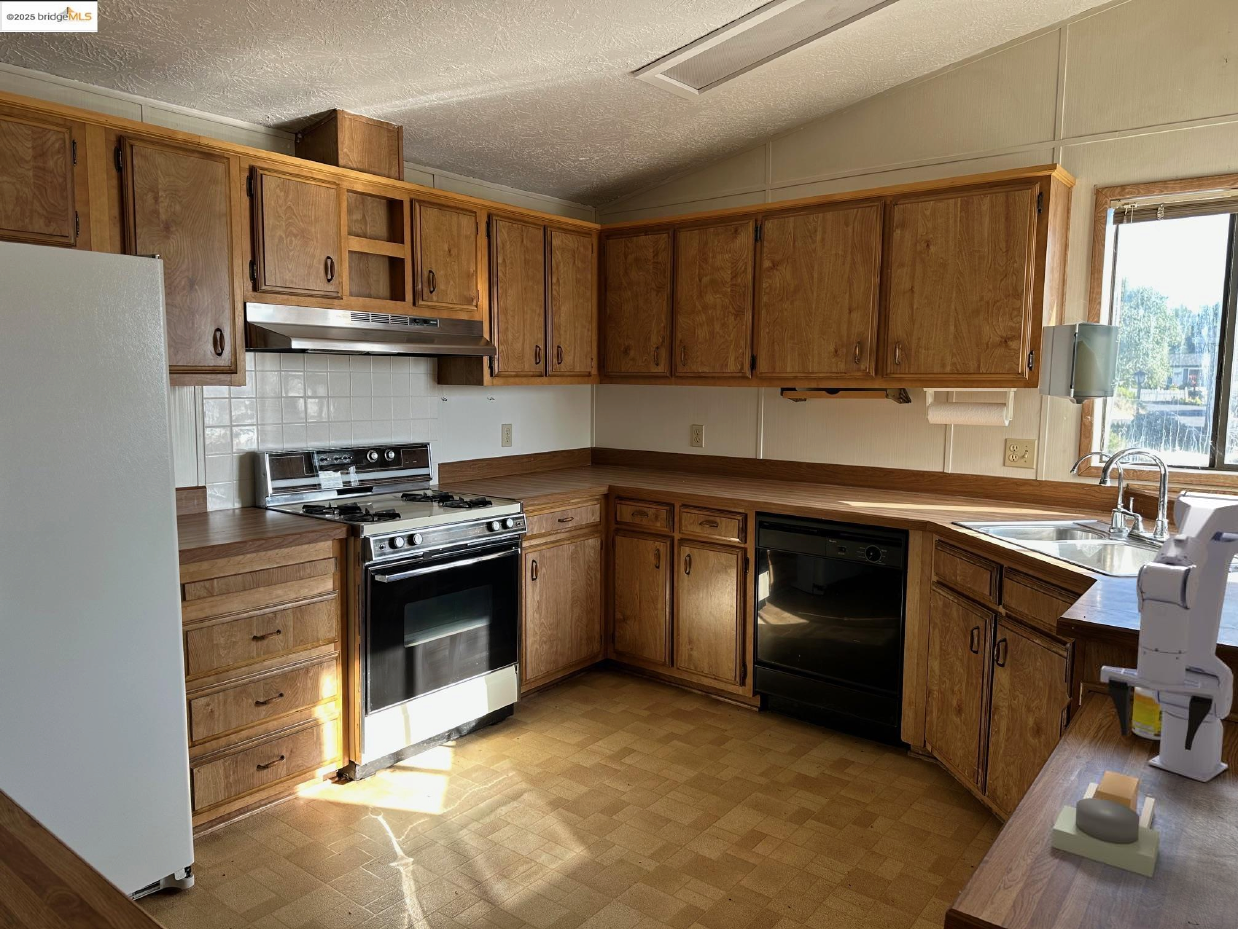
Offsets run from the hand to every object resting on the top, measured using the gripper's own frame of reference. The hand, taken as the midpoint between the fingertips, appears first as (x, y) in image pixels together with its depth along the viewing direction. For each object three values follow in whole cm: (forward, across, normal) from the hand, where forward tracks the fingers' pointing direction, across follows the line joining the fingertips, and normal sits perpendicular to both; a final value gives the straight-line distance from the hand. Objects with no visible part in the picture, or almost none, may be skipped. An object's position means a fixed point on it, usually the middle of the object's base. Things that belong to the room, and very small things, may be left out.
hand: (1155, 740), depth 119 cm
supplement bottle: (+10, -3, +30) cm, 32 cm away
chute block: (+10, -4, -8) cm, 13 cm away
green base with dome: (+9, -3, -13) cm, 16 cm away
